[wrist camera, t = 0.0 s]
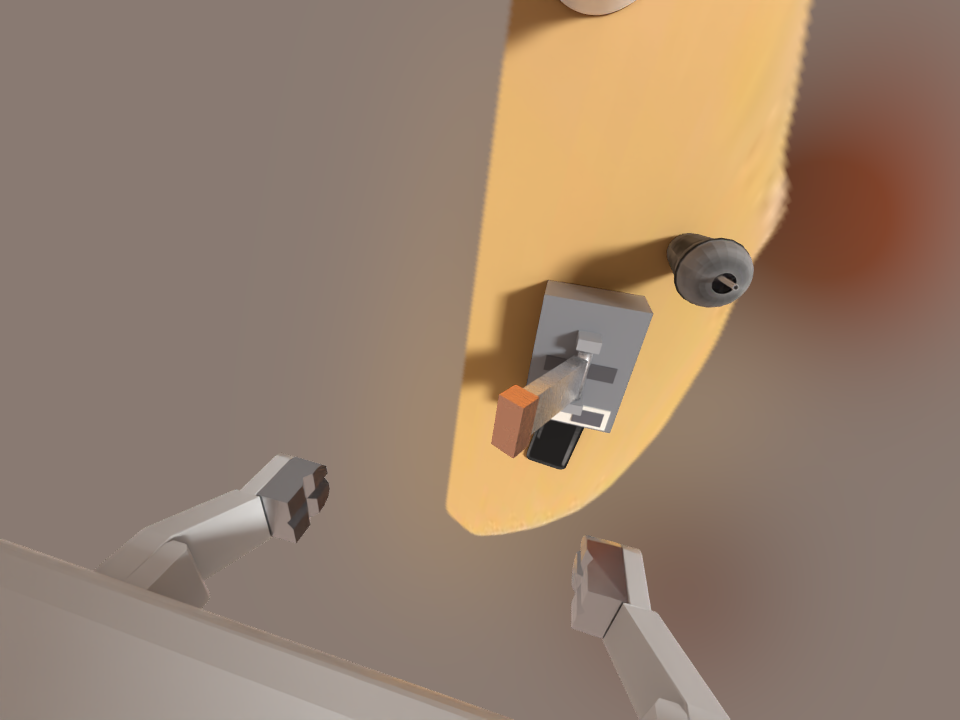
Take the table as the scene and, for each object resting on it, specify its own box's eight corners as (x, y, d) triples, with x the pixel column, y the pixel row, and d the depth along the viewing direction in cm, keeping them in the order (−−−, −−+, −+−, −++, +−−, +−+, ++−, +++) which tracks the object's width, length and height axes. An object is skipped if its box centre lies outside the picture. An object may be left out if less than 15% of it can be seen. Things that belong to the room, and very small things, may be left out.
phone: (591, 410, 63) (564, 471, 71) (591, 407, 64) (564, 467, 72) (547, 397, 64) (524, 458, 72) (547, 393, 65) (525, 454, 73)
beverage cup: (669, 287, 52) (715, 350, 35) (645, 243, 50) (680, 286, 33) (725, 258, 49) (805, 311, 32) (701, 209, 47) (773, 238, 30)
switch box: (548, 279, 55) (542, 301, 47) (644, 296, 53) (657, 322, 45) (526, 389, 65) (518, 424, 57) (606, 407, 63) (611, 446, 55)
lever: (579, 342, 52) (499, 390, 39) (600, 351, 50) (524, 404, 38) (566, 389, 56) (490, 446, 43) (586, 399, 54) (512, 461, 41)
